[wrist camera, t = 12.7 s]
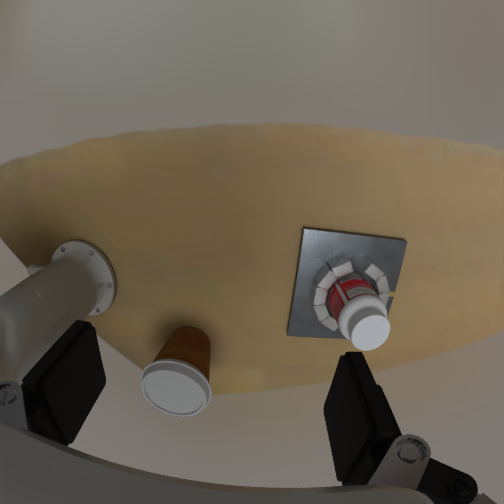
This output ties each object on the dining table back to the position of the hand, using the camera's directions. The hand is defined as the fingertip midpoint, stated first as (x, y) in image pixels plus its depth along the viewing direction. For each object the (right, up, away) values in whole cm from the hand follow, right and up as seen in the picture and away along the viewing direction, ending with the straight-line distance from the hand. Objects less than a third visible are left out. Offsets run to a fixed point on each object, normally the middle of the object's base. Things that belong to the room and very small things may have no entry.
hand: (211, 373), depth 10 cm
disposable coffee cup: (-8, -10, +35) cm, 38 cm away
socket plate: (+15, -1, +32) cm, 35 cm away
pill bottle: (+15, -1, +31) cm, 34 cm away
